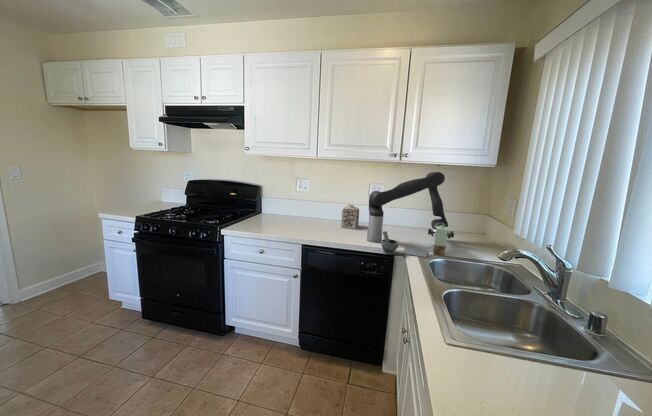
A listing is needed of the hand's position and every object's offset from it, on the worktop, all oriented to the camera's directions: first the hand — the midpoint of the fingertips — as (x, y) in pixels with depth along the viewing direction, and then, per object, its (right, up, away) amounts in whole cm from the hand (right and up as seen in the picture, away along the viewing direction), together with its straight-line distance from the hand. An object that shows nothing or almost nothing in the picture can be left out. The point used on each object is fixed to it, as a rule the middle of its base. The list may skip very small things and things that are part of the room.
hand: (441, 236), depth 157 cm
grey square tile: (-13, -10, +4) cm, 18 cm away
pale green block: (0, -5, +2) cm, 6 cm away
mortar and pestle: (-30, -10, +3) cm, 32 cm away
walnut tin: (0, -11, +4) cm, 12 cm away
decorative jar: (-48, +1, +59) cm, 76 cm away
